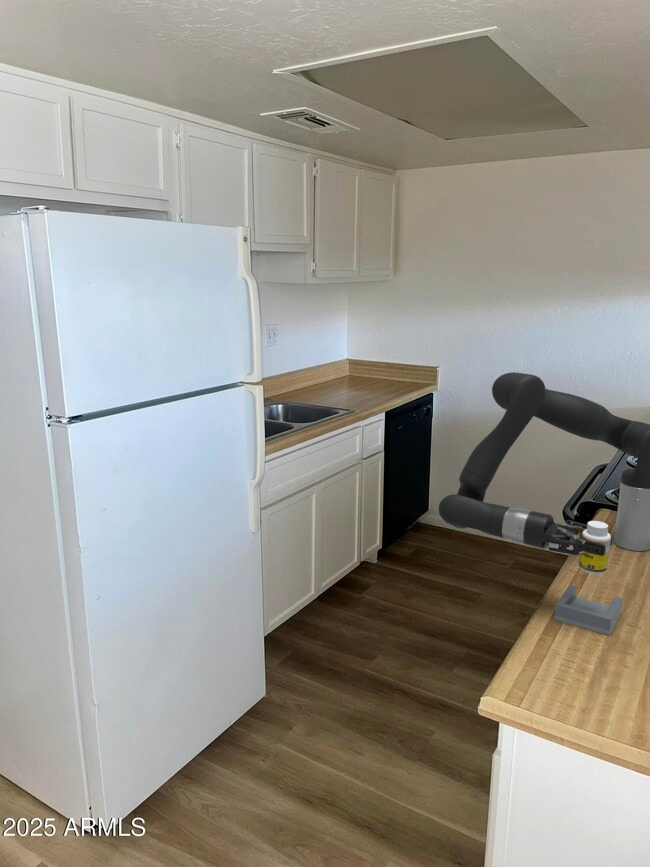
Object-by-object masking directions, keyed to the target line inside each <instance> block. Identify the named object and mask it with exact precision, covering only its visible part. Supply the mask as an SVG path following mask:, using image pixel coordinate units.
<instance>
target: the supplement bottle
mask: <svg viewBox="0 0 650 867" xmlns="http://www.w3.org/2000/svg"><path fill="white" fill-rule="evenodd" d="M586 525H587V529H586V530H584V531H583V533H582V539H583V540H585V541H586V542H587V541H590V542H594V543H598V544H603V545H605V546H606V551H605V555H604V556H600V555H596V554H592V553H587V552H584V553H580V552H579V559H578V567H579V569H580V570H582V571H583V572H585V573H587V574H592V575H603V574H605V573H606V571H607V570H608V563H609V556H610V549H611V546H610V542H611V536H610V535H611V534H610V533H609V532H608V531H609V524H607V523H605V522H603V521H600V520H590V521H588V522H587V524H586Z"/></svg>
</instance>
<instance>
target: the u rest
mask: <svg viewBox="0 0 650 867" xmlns="http://www.w3.org/2000/svg"><path fill="white" fill-rule="evenodd" d="M577 589H578V586H577V585H573V584H572V585H571V584H569V586H568V587H567V588H566V589H565V591H564V592H563V593H562V595H561V596H560V598H559V599H558V601H556V603H555V605H554V607H555V608H554V617H553V618H554V620H555V621H558V622H561V623H565V624H568V625H572V626H575V627H579V628H582V629H586V630H588V631H593V632H597V633H600V634H603V635H606V636H611V633H612V631H613V629H614V627H615V626H616V623H617V622H618V620H619V618H620V616H621V614H622V606H623V598H622V597H620V596H616V595H615V596H614V598H613V600H612V601H611V603H610V605H608V604H605V603H602V602H597V601H594V600H590V599H586V598H581V597H578V596H577Z"/></svg>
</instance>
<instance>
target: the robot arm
mask: <svg viewBox="0 0 650 867" xmlns="http://www.w3.org/2000/svg"><path fill="white" fill-rule="evenodd" d="M491 394H492V397H493V399H494V401H495V403H496V404H497V405H498V406H499V407H500V408H502V409H504V410H506V411H505V413H504V415H503V416H502V418H501V420H500V421H499V423H498V424H497V425H496V426H495V428H493V429H492V430H491V432H490V433H489V434H487V436H485V437H484V438H483V439H482V440H481V441H480V442H479V443H478V444H477V445H476V446H475V447H474V449H473V450H472V452H471V454H470V455H469V457H468V458H467V461H466V462H465V464H464V467H463V469H462V470H461V472H460V474H459V478H458V480H459V483H460V486H459V488H458V490H457V494H448V495H446V496H445V497H443V498H442V499H441V500H440V502H439V504H438V513H439V516H440V519H441V520H443V521H444V522H445V523H447V524H449V525H451V526H453V527H455V528H457V529H466V528H469V529H473V530H478V531H480V532H482V533H484V534H487V535H490V536H493V537H498V538H503V539H506V540H508V541H510V542H515V543H519V544H521V545H526V546H531V547H534V548H538V549H539V548H540V549H547V548H548V551H551V552H555V553H556V552H557V553H561V554H567V555H568V554H569V555H574V556H580V553H584V552H587V553H592V554H596V555H600V556H604V555H605V551H606V546H605V545H603V544H598V543H594V542H590V541H587V542H586V541H585V540H583V539H582V533H583V531H584V530H586V529H587V524H586V523H581V522H578V521H576V520H575V521H574V520H571V519H567V520H566V521H565V523H556V522H554V517H553V516H552V514H550V513H543V512H540V511H535V510H530V509H525V508H521V507H520V508H519V507H511V506H510V507H509V506H505V505H500V504H497V503H496V504H494V503H489V502H484V500H485V496H486V492H487V490H488V488H489V486H490V485H491V482H492V480H493V479H494V477H495V475H496V473H497V472H498V470H499V467H500V465H501V463H502V462H503V460H504V459H505V457H506V455H507V454H508V452H509V450H510V449H511V448H512V447H513V445H514V443H515V442H516V441H517V439H518V438H519V437H520V435H521V434H522V432H523V431H524V430H525V428H526V427H527V426H528V424H529V423H530V421H531V420H532V419H533V418H534V417H535V418H537V419H539V420H541V421H544V422H545V423H547V424H549V425H551V426H554V427H555V428H557V429H560V430H563V431H565V432H567V433H570V434H571V435H575V436H577V437H580V438H582V439H583V438H584V439H587V440H592V441H598V442H599V441H600V442H603V443H606V444H608V445H610V446H612V447H614V448H615V449H617V450H619V451H621V452H623V453H625V455H628V456H631V457H634V458H637V459H636V464H635V468H629V469H624V470H623V471H622V472H621V476H620V477H621V478H620V486H619V496H618V504H617V512H616V513H617V515H616V520H615V531H614V537H613V535H612V534H610V536H611V542H610V547H611V546H612V545H613V542H614V544H615V545H616V546H618V547H620V548H623V549H625V550H628V551H629V550H630V551H634V552H646V551H649V550H650V423H646V422H644V421H637V420H632V419H628V418H627V419H626V418H623V417H619V416H616V415H614V414H612V413H611V412H610V411H609V410H608V409H607V408H606V407H604V406H603V405H601V404H599V403H597V402H594V401H592V400H590V399H587V398H585V397H581V396H578V395H575V394H571V393H566V392H563V391H556V390H551V389H548V388H546V385H545V383H544V381H543V379H542V378H540V377H539V376H537V375H534V374H530V373H522V372H507V373H504V374H502V375H500V376H498V377H497V378H496V379H495V381H494V382H493V384H492V387H491ZM613 539H614V540H613Z"/></svg>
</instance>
